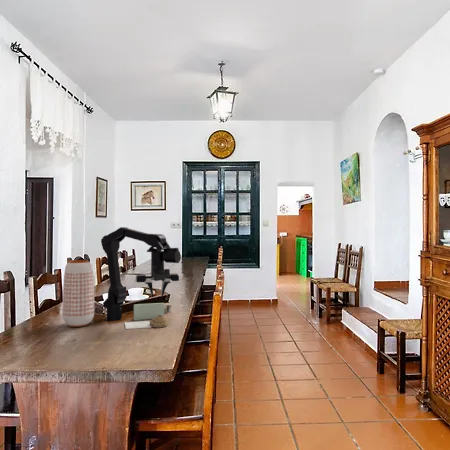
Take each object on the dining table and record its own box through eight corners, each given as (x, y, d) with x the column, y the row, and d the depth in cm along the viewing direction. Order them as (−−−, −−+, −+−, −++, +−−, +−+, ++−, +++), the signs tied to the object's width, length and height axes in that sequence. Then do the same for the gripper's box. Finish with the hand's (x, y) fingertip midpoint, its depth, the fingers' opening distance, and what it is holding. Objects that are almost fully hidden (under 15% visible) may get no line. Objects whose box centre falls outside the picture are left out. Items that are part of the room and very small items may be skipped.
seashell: (173, 318, 174) (166, 315, 167) (170, 331, 172) (163, 328, 165) (156, 315, 176) (149, 312, 169) (153, 328, 174) (146, 325, 167)
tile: (125, 329, 164) (125, 328, 164) (124, 323, 174) (124, 322, 174) (152, 327, 167) (152, 326, 167) (149, 321, 177) (149, 320, 177)
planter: (83, 329, 164) (84, 262, 164) (55, 327, 166) (56, 261, 166) (100, 321, 177) (100, 259, 177) (73, 320, 179) (74, 259, 179)
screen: (134, 320, 178) (134, 305, 178) (133, 318, 182) (133, 303, 182) (164, 318, 182) (164, 303, 183) (163, 316, 186) (163, 302, 186)
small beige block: (164, 313, 194) (165, 305, 194) (160, 311, 198) (161, 303, 198) (172, 312, 196) (172, 304, 196) (168, 310, 200) (168, 303, 200)
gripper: (138, 264, 163) (137, 301, 163) (181, 263, 169) (181, 299, 169) (135, 262, 174) (135, 296, 174) (176, 261, 180) (176, 294, 180)
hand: (157, 297), depth 174 cm, fingers open, 4 cm apart
